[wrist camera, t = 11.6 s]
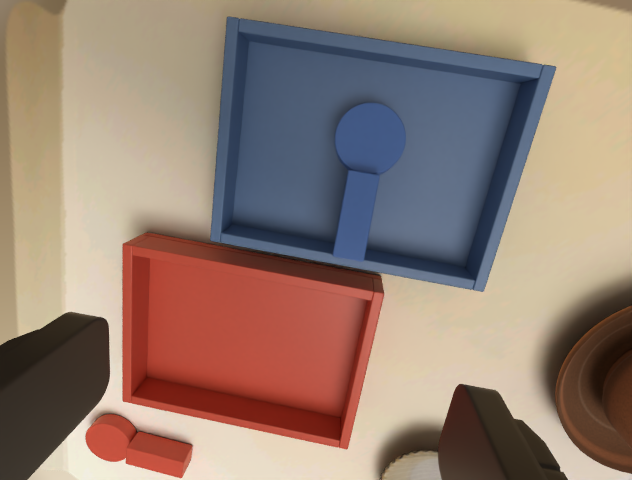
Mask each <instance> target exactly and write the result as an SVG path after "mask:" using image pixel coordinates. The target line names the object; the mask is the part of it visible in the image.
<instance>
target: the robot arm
mask: <svg viewBox="0 0 632 480" xmlns="http://www.w3.org/2000/svg"><path fill="white" fill-rule="evenodd" d="M109 377H110V360H109V326H108V322H107V321H106V319H104V318H101V317H96V316H90V315H85V314H79V313H74V312H68V313H65V314H63V315H62V316H60V317H59V318H57V319H55V320H54V321H52V322H51V323H49V324H48V325H46V326H44V327H43V328H41V329H40V330H35V331H33V332H30V333H27V334H25V335H22V336H19V337H17V338H14V339H11V340H9V341H7V342H5V343H4V344H2V345H0V480H27V479H28V478H29V477H30V476H31V475H32V474H33V473H34V472H35V470H37V469H38V468H39V467H40V465H41V464H42V463H43V462H44V461H45V460H46V459H47V458H48V457H49V456H50V455H51V454H52V453H53V451H54V450H55V449H56V448H57V447H58V446H59V445H60V444H61V443H62V442H63V441H64V440H65V439H66V437H67V436H68V435H69V434H70V433H71V432H72V431H73V430H74V429H75V428H76V427H77V426H78V425H79V423H80V422H81V421H82V420H83V419H84V418H85V417H86V416H87V415H88V414H89V413H90V412H91V411H92V409H93V408H94V407H95V406H96V405H97V404H98V403H99V401H100V400H101V399H102V397H103V395H104V393H105V391H106V389H107V386H108V383H109ZM438 464H439V471H440V475H441V479H442V480H568V479H567V477H566V476H565V474H564V473H563V472H560V466H559V465H558V463H557V461H556V460H555V458H554V456H553V455H552V453H551V452H550V450H549V448H548V447H547V445H546V444H545V442H544V441H543V440H542V439H541V438H540V437H539V436H538V435H537V434H536V433H535V432H534V431H533V430H532V429H531V428H529V427H528V426H527V425H526V424H525V423H524V422H523V421H522V420H518V419H514V418H513V417H512V415H511V413H510V411H509V410H508V408H507V406H506V404H505V402H504V401H503V399H502V397H501V395H500V394H499V393H498V392H497V391H496V390H491V389H486V388H480V387H475V386H469V385H464V384H459V385H458V386H457V387H456V389H455V391H454V394H453V397H452V400H451V404H450V407H449V410H448V413H447V417H446V420H445V423H444V426H443V430H442V433H441V436H440V440H439V446H438Z"/></svg>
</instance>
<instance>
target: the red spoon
mask: <svg viewBox="0 0 632 480" xmlns="http://www.w3.org/2000/svg"><path fill="white" fill-rule="evenodd" d="M86 443H87V445H88V447H89V449H90V450H91V451H92V452H93V453H94V454H95V455H96V456H98V457H99V458H101V459H103V460H106V461H111V462H117V461H121V460H123V459H125V458H126V464H130V465H133V466H137V467H141V468H145V469H148V470H152V471H156V472H160V473H163V474H167V475H171V476H175V477H178V478H182V477H183V475H184V473H185V471H186V469H187V467H188V465H189V463H190V461H191V454H192V445H189V444H185V443H181V442H178V441H174V440H170V439H166V438H162V437H158V436H155V435H151V434H147V433H143V432H138V433H137V432H136V429H135V428H134V426H133V425H132V424H131V423H130V422H129V421H128V420H126V419H125V418H123V417H121V416H118V415H114V414H106V415H103V416H101V417H99V418H98V419H97V420H96V421H95V422H94V423H93V424H92V425H91V426H90V428H89V429H88V430H87V432H86Z"/></svg>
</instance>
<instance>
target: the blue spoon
mask: <svg viewBox="0 0 632 480" xmlns="http://www.w3.org/2000/svg"><path fill="white" fill-rule="evenodd" d="M405 143H406V132H405V128H404V125H403V123H402V121H401V119H400V117H399V116H398V115H397V114H396V113H395V112H394V111H393V110H392V109H390V108H389V107H387V106H384V105H382V104H378V103H364V104H360V105H357V106H355V107H353V108H352V109H350V110H349V111H348V112H346V113H345V114H344V116H343V117H342V118H341V119H340V121H339V123H338V125H337V128H336V132H335V150H336V154H337V156H338V159H339V160H340V162H341V163H342V165H343V166H344V167H345V168H346V169H348V174H347V179H346V184H345V190H344V195H343V200H342V206H341V211H340V217H339V222H338V227H337V233H336V238H335V243H334V249H333V254H332V255H333V257H338V258H343V259H349V260H354V261H359V262H363V261H364V258H365V252H366V247H367V242H368V237H369V231H370V226H371V221H372V216H373V210H374V205H375V200H376V195H377V189H378V184H379V179H380V174H382V173H385V172H386V171H388V170H389V169H390V168H392V167H393V166H394V165H395V163H396V162H397V161H398V160H399V158H400V157H401V155H402V153H403V151H404V148H405Z"/></svg>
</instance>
